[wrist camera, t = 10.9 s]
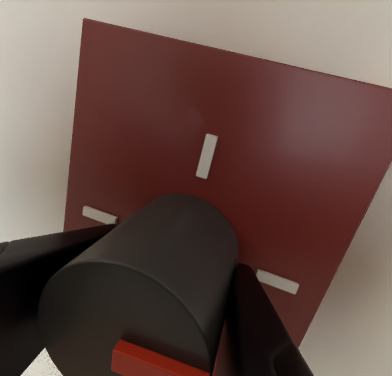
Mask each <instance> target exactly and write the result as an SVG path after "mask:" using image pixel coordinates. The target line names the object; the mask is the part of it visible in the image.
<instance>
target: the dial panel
mask: <svg viewBox="0 0 392 376" xmlns="http://www.w3.org/2000/svg"><path fill="white" fill-rule="evenodd" d="M391 161H392V89H391V88H387V87H383V86H378V85H374V84H370V83H365V82H361V81H357V80H352V79H348V78H344V77H339V76H335V75H330V74H326V73H322V72H317V71H313V70H309V69H304V68H300V67H296V66H291V65H287V64H283V63H278V62H274V61H269V60H265V59H261V58H256V57H252V56H248V55H243V54H239V53H235V52H230V51H226V50H222V49H217V48H213V47H208V46H204V45H200V44H195V43H191V42H187V41H182V40H178V39H174V38H169V37H165V36H161V35H156V34H152V33H147V32H143V31H139V30H134V29H130V28H126V27H121V26H117V25H113V24H108V23H104V22H99V21H95V20H91V19H86V18H84V19H83V26H82V36H81V47H80V58H79V69H78V80H77V90H76V101H75V112H74V123H73V134H72V144H71V155H70V166H69V177H68V188H67V198H66V209H65V220H64V231H63V232H66V231H71V230H77V229H83V228H89V227H94V226H100V225H106V224H111V223H114V224H118V225H120V224H121V223H122V222H124V221H125V220H126V219H128V218H129V217H130V216H132V215H133V214H134V213H136V212H137V211H138V210H140V209H141V208H142V207H144V206H145V205H146V204H148V203H149V202H150V201H152V200H154V199H156V198H158V197H161V196H164V195H168V194H187V195H192V196H195V197H198V198H200V199H203V200H205V201H207V202H208V203H210V204H212V205H213V206H214V207H216V208H217V209H218V210H219V211H220V212H221V213H222V214H223V215H224V216H225V217H226V219H227V220H228V221H229V223H230V224H231V226H232V228H233V230H234V232H235V235H236V238H237V241H238V248H239V257H238V263H243V264H246V265H249V266H251V268H252V269H253V271H254V273H255V275H256V276H257V278H258V280H259V282H260V283H261V285H262V287H263V289H264V290H265V292H266V294H267V296H268V297H269V299H270V301H271V303H272V304H273V306H274V308H275V310H276V311H277V313H278V315H279V317H280V318H281V320H282V322H283V324H284V325H285V327H286V329H287V331H288V333H289V334H290V336H291V338H292V340H293V342H294V343H295V345H296V346H297V348H298V347H299V345H300V343H301V341H302V339H303V337H304V335H305V333H306V331H307V329H308V327H309V325H310V323H311V321H312V319H313V317H314V315H315V313H316V311H317V309H318V307H319V305H320V303H321V301H322V299H323V297H324V295H325V293H326V291H327V289H328V287H329V285H330V283H331V281H332V279H333V277H334V275H335V273H336V271H337V269H338V267H339V265H340V263H341V261H342V259H343V257H344V255H345V253H346V251H347V249H348V247H349V245H350V243H351V241H352V239H353V237H354V235H355V233H356V231H357V229H358V227H359V225H360V223H361V221H362V219H363V217H364V215H365V213H366V211H367V209H368V207H369V205H370V203H371V201H372V199H373V197H374V195H375V193H376V191H377V189H378V187H379V185H380V183H381V181H382V179H383V177H384V175H385V173H386V171H387V169H388V167H389V165H390V163H391ZM238 263H237V264H238ZM217 355H218V352H217ZM216 364H217V357H216V361H215V366H214V370H213V375H212V376H215V373H216Z"/></svg>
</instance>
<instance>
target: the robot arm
mask: <svg viewBox="0 0 392 376" xmlns="http://www.w3.org/2000/svg"><path fill="white" fill-rule="evenodd" d="M117 226H118V224H114V223H111V224H106V225H100V226H94V227H89V228H83V229H77V230H71V231H66V232H60V233H54V234H48V235H43V236H37V237H31V238H26V239H20V240H14V241H11V242H10V243H9V242H2V243H0V376H20V375H21V374H22V373H23V372H24V371H25V370H26V369H27V367H28V366H29V365H30V364H31V363H32V362H33V361H34V359H35V358H36V357H37V356H38V355H39V354H40V352H41V351H42V350H43V349H44V348H45V345H44V343H43V340H42V337H41V334H40V330H39V325H38V305H39V300H40V296H41V294H42V291H43V289H44V287H45V285H46V284H47V282H48V280H49V279H50V278H51V277H52V276H53V275H54V274H55V273H56V272H57V271H59V270H60V269H61V268H63V267H64V266H65V265H67V264H68V263H69V262H71V261H72V260H73V259H75V258H76V257H77V256H79V255H80V254H81V253H83V252H84V251H85V250H87V249H88V248H89V247H91V246H92V245H93V244H95V243H96V242H97V241H98V240H100V239H101V238H102V237H104V236H105V235H106V234H108V233H109V232H110V231H112V230H113V229H114V228H116V227H117ZM215 376H314V375H313V373H312V372H311V370H310V368H309V367H308V365H307V363H306V362H305V360H304V358H303V357H302V355H301V353H300V352H299V350H298V348H297V346H296V345H295V343H294V342H293V340H292V338H291V336H290V334H289V333H288V331H287V329H286V327H285V325H284V324H283V322H282V320H281V318H280V317H279V315H278V313H277V311H276V310H275V308H274V306H273V304H272V303H271V301H270V299H269V297H268V296H267V294H266V292H265V290H264V289H263V287H262V285H261V283H260V282H259V280H258V278H257V276H256V275H255V273H254V271H253V269H252V268H251V266H249V265H246V264H243V263H238V264H237V267H236V271H235V276H234V280H233V284H232V289H231V293H230V298H229V303H228V308H227V312H226V317H225V321H224V325H223V330H222V334H221V339H220V343H219V348H218V355H217V364H216V373H215Z"/></svg>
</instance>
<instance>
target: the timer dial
mask: <svg viewBox="0 0 392 376" xmlns="http://www.w3.org/2000/svg"><path fill="white" fill-rule="evenodd" d="M238 257H239V248H238V241H237V238H236V235H235V232H234V230H233V228H232V226H231V224H230V223H229V221H228V220H227V219H226V217H225V216H224V215H223V214H222V213H221V212H220V211H219V210H218V209H217V208H216V207H214V206H213V205H212V204H210V203H208V202H207V201H205V200H203V199H200V198H198V197H195V196H192V195H187V194H168V195H164V196H161V197H158V198H156V199H154V200H152V201H150V202H149V203H148V204H146V205H145V206H144V207H142V208H141V209H140V210H138V211H137V212H136V213H134V214H133V215H132V216H130V217H129V218H128V219H126V220H125V221H124V222H122V223H121V224H120V225H118V226H117V227H116V228H114V229H113V230H112V231H110V232H109V233H108V234H106V235H105V236H104V237H102V238H101V239H100V240H98V241H97V242H96V243H95V244H93V245H92V246H91V247H89V248H88V249H87V250H85V251H84V252H83V253H81V254H80V255H79V256H77V257H76V258H75V259H73V260H72V261H71V262H69V263H68V264H67V265H65V266H64V267H63V268H61V269H60V270H59V271H57V272H56V273H55V274H54V275H53V276H52V277H51V278H50V279H49V280H48V282H47V284H46V285H45V287H44V289H43V291H42V294H41V296H40V300H39V305H38V325H39V330H40V334H41V337H42V340H43V343H44V345H45V348H46V350H47V352H48V354H49V356H50V357H51V359H52V361H53V363H54V364H55V365H56V367H57V368H58V370H59V371H60V372H61V373H62V375H63V376H212V375H213V370H214V366H215V361H216V357H217V352H218V348H219V343H220V339H221V334H222V330H223V325H224V321H225V317H226V312H227V308H228V303H229V298H230V293H231V289H232V284H233V280H234V276H235V271H236V267H237V263H238Z"/></svg>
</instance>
